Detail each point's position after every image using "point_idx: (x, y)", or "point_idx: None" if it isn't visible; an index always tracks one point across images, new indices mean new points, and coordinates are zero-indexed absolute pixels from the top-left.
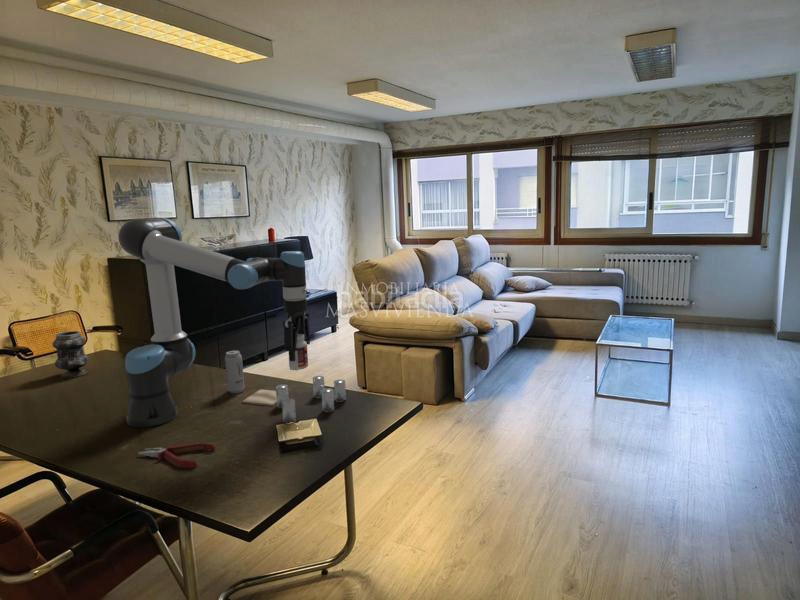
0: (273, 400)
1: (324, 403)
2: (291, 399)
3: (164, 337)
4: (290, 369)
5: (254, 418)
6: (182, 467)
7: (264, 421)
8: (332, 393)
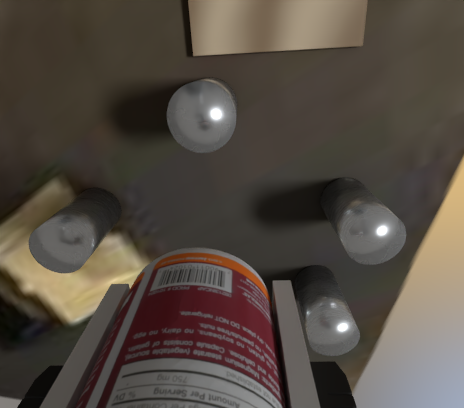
0: (238, 29)
1: None
2: (75, 255)
3: None
4: (111, 289)
5: (53, 57)
6: None
7: (53, 119)
8: None
